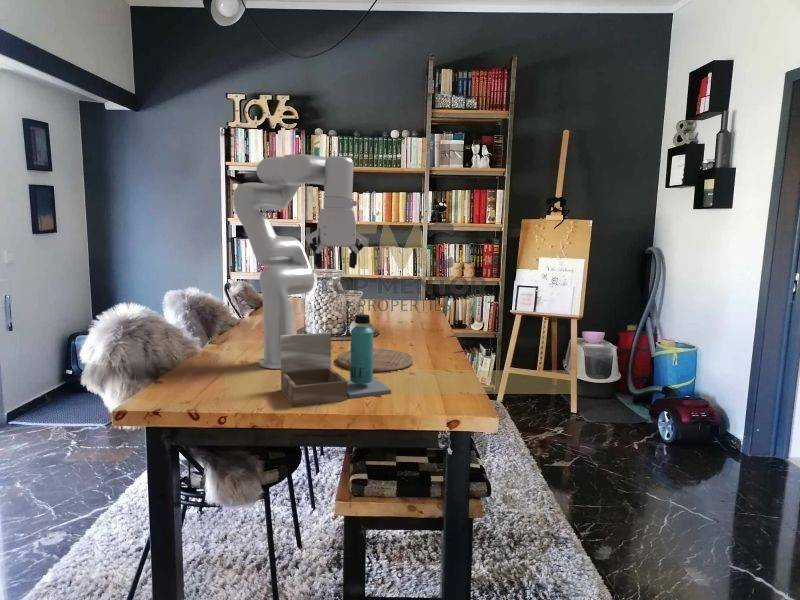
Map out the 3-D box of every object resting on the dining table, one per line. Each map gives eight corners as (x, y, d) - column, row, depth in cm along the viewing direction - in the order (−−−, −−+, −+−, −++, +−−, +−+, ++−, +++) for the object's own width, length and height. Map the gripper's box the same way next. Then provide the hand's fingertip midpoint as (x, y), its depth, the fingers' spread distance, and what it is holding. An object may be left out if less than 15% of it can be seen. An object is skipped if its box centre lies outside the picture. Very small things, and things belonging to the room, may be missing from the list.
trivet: (404, 377, 159) (404, 371, 159) (326, 370, 164) (326, 364, 164) (418, 356, 184) (418, 351, 183) (349, 351, 189) (350, 346, 188)
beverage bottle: (373, 382, 149) (374, 312, 146) (372, 389, 142) (374, 317, 139) (350, 381, 149) (351, 312, 146) (348, 389, 142) (349, 316, 139)
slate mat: (335, 385, 148) (335, 381, 148) (374, 380, 153) (374, 377, 153) (349, 398, 138) (349, 394, 138) (391, 393, 143) (391, 389, 143)
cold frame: (280, 389, 144) (280, 335, 141) (329, 383, 149) (330, 332, 147) (293, 406, 130) (293, 347, 128) (346, 400, 136) (347, 343, 134)
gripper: (362, 205, 148) (359, 266, 151) (302, 202, 140) (300, 266, 143) (373, 206, 141) (370, 269, 144) (310, 202, 133) (308, 269, 136)
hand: (335, 267), depth 143 cm, fingers open, 9 cm apart
